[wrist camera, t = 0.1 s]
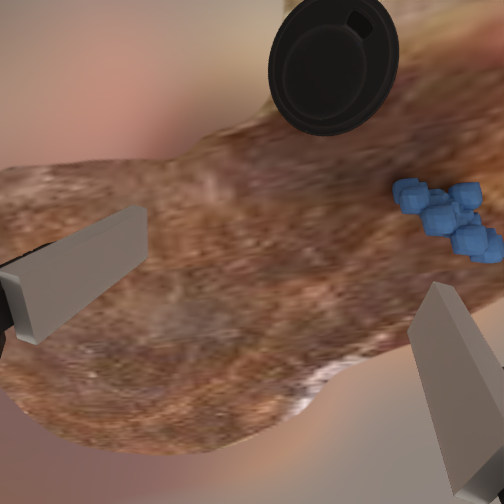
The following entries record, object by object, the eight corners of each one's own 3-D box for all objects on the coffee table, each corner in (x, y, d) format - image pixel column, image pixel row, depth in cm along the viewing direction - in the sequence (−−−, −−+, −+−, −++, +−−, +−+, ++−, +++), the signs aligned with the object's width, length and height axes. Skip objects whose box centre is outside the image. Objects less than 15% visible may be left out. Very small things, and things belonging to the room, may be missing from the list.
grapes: (501, 197, 34) (570, 238, 24) (454, 242, 38) (497, 294, 27) (415, 143, 34) (447, 160, 24) (376, 192, 38) (389, 226, 27)
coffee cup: (392, 35, 31) (429, -15, 18) (363, 132, 35) (375, 149, 22) (302, 23, 32) (275, -30, 19) (284, 118, 37) (253, 126, 24)
